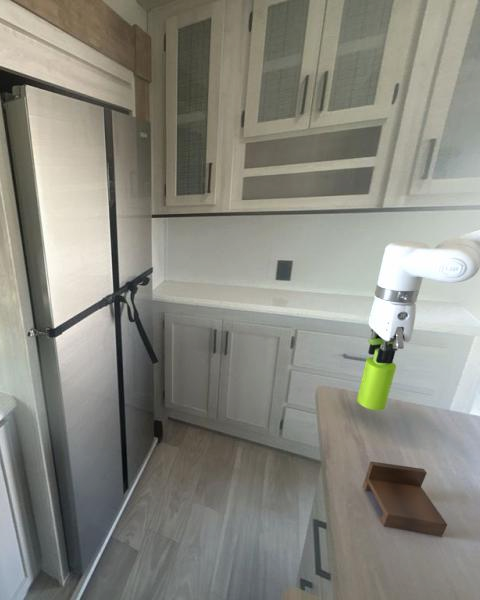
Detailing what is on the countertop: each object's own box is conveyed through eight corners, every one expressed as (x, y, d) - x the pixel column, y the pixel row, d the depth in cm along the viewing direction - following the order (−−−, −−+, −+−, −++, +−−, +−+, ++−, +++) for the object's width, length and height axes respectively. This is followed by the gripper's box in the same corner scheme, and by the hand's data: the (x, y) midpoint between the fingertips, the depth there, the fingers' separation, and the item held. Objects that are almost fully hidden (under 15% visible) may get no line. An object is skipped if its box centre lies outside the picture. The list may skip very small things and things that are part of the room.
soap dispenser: (348, 396, 95) (361, 335, 87) (375, 396, 93) (391, 334, 86) (361, 410, 89) (377, 346, 82) (390, 410, 88) (408, 345, 81)
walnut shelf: (411, 499, 71) (423, 468, 67) (439, 542, 63) (454, 510, 60) (361, 490, 74) (370, 461, 70) (381, 530, 66) (393, 499, 62)
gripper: (438, 306, 71) (416, 378, 78) (396, 281, 86) (381, 343, 92) (395, 306, 73) (377, 375, 80) (361, 282, 88) (348, 342, 95)
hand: (379, 357), depth 86 cm, fingers closed on soap dispenser, 3 cm apart
